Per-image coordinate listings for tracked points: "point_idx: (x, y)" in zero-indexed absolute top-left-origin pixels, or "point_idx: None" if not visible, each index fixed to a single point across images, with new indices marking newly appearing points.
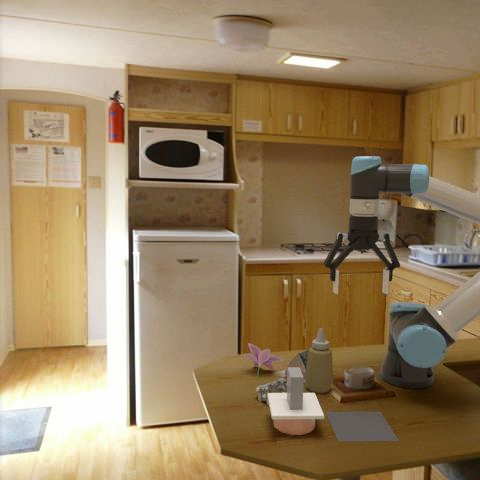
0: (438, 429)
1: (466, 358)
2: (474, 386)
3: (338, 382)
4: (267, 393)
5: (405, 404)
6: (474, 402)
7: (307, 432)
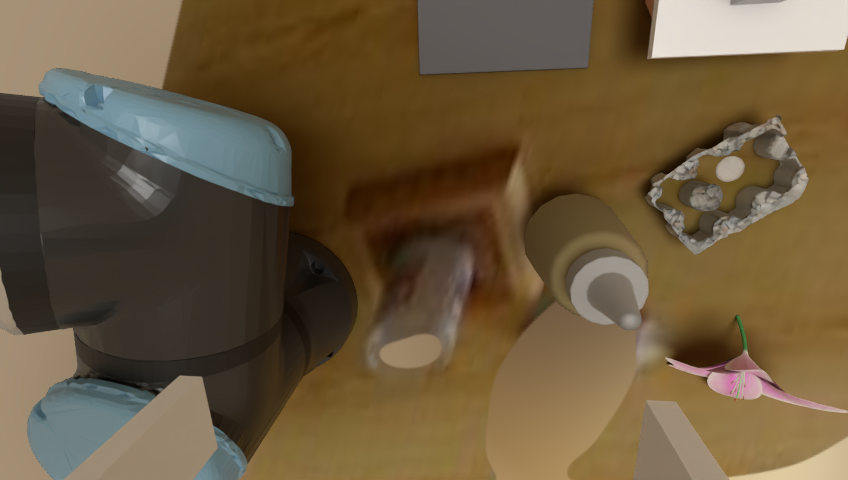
0: None
1: None
2: None
3: (488, 278)
4: (842, 48)
5: (333, 136)
6: None
7: None
